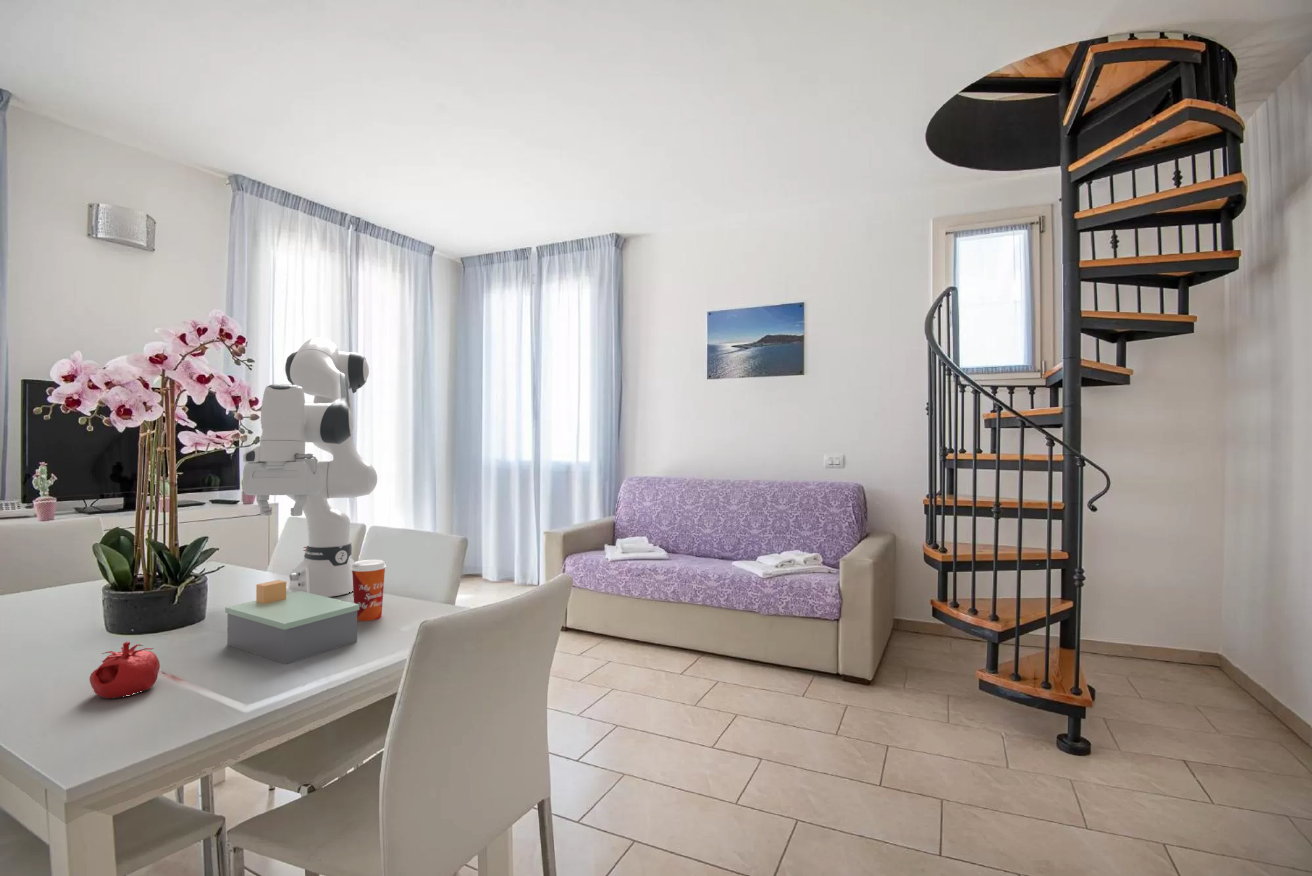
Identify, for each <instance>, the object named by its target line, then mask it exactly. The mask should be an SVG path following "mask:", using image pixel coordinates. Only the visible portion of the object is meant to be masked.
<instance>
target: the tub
mask: <svg viewBox="0 0 1312 876" xmlns="http://www.w3.org/2000/svg"><path fill="white" fill-rule="evenodd" d="M226 623H227V628H226V629H227V631H226V632H227V636H226V637H227V642H226V644H227V646H229V647H232V648H234V649H235V648H236V649H238V650H241V651H245V652H246V653H251V654H254V655H256V656H259V657H262V658H265V659H268V660H272V661H274V662H277V663H280V664H283V665H287V664H290V663H294V662H297V661H301V660H303V659H306V658H309V657H313V656H315V655H320V654H322V653H325V652H326V653H327V652H328V651H331V650H336V649H338V648H341V647H344V646H348V645H350V644H355V643H357V642H358V620H357V611H353V612H349V613H345V614H342V615H338V616H334V617H331V618H327V619H323V620H319V621H316V622H312V623H308V624H304V625H301V626H297V627H293V628H289V629H286V630H284V629H280V628H277V627H273V626H270V625H266V624H263V623H259V622H256V621H252V620H249V619H245V618H242V617H238V616H235V615H231V614H228V613H227V622H226Z"/></svg>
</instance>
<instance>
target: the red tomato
mask: <svg viewBox="0 0 1312 876" xmlns="http://www.w3.org/2000/svg"><path fill="white" fill-rule="evenodd" d="M130 645H131V642H130V641H125V642H124V643H123V644H122V647H120V649H121V651H118V652H116V651H113V650H110V651H106V652H102V653H101V654H102V655H103V654H109V655H108V656H106V657H105V658H104V659H103V660H101V662H102V664H101V665H99V666H98V667H97V668H96V669H95V670H93V671H92V672H91V674H90V676H89V683H90V685H91V688H92V690H93V693H94V694H96V695H97V696H99V697H101V698H103V697H105V698H104V699H110V698H112V699H114V698H113V697H122V698H124V697H123V696H126V695H132V694H133V693H137V692H140V691H144V690H146V691H147V689H148V690H150V689H152V687H153V686H154V685H155V683H156V681H157V680H158V675H159V672H160V668H161V664H160V661H159V658H158V656H157V655H156V653H154V652H153V651H151V650H153V649H155V647H152V648H149V647H145V648H141V649H138V650H137V649H136V648H137V647H142V646H144V644H139V643H137V644H135V645H134V646H131V647H130ZM144 692H145V691H144ZM137 694H138V693H137Z"/></svg>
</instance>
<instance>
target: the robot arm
mask: <svg viewBox="0 0 1312 876" xmlns="http://www.w3.org/2000/svg"><path fill="white" fill-rule="evenodd" d="M284 372H285V375H286V379H287V381H288V382H289V384H283V383H281V384H279V383H276V384H275V383H274V384H269V385H267V386H265V388H264V392H263V394H262V401H261V409H260V424H261V430H262V432H261V435H260V439H259V445H257V446H256V447H255V448H254V447H253V448H252V449H251V450H248V451H247V452H244V454H243V457H242V461H243V463H245V465H244V467H243V470H242V491H243V492H244V494H245V496H256V497H255V498H256V500H255V501H256V502H257V504H258V508H259V511H260V512H259V515H260V516H261V517H262V516H271V515H272V514H273V512H272V511H273V507H270V505H269V501H268V500H270V496H287V497H288V498H290V499H292V500H293V501H294V502H295V503H294V504H293V507H290V516H292V517H299V516H303V513H304V516H305V519H306V524H307V541H308V543H307V546H304V547H303V551H304V555H303V557H304V558H303V559H302V560H300V562H299V563H297V565H296V566H294V567H293V568H292V569H291V571H290V574H289V583H288V584H286V594H288V593H293V592H297V591H303V592H307V593H311V594H316V595H320V596H325V597H329V598H332V597H336V596H342V595H346V594H350V593H353V592H352V591H353V576H352V570H351V568H352V565H353V563H354V562H355V561H354V559H353V558H351V555H352V552H353V551H352V550H353V546H352V542H351V520H350V518H349V515H347V514H346V513H345V512H343V511H342V510H339V509H336V508H333V507H332V506H331V505H330V504H329V503H328V502H329V501H328V499H342V498H343V499H344V498H347V499H348V498H351V499H353V498H359V497H362V496H367V495H368V496H369V495H371V493H373V491H374V490H375V488H376V487H377V484H378V474H377V471H376V469H375V467H374V466H373V465H372V464H370V463H369V462H367V461H366V460H365V459H364V458H363V457H362V456H361V455H360V453H359V452H358V450H357V448H356V447H355V443H354V437H353V430H354V418H353V401H352V400H353V399H352V395H351V392H352V394H355V393H357V391H358V390H359V389H361V388H362V387H363V386H364V385H365V384H366V383H367V379H368V377H369V374H370V367H369V364H368V361H367V359H366V357H365V356H364V355H363V354H361V353H358V352H354V351H351V352H348V351H347V352H346V351H339V348H338V347H337V346H336V344H335V343H334V342H332V341H331V340H330V339H328V338H326V337H325V338H324V337H313V338H309V339H307V341H305V342H304V343H303V345H301V346H300V348H299V349H298V350H297V351H296V352H292V353H291V354H290V355H288V356H287V358H286V362H285V366H284ZM350 389H351V390H350ZM305 394H307V395H310V396H314V398H313V402H306V399H305V397H306V396H305ZM306 443H313V445H314V446H315V447H317V448H318V449H321V450H323V451H325V452H328V453H330V454H331V455H332V458H333V459H332V460H329V461H324V460H323V461H318V458H317V457H316V456H315V455H314V454H313V453H306ZM349 592H350V593H349Z"/></svg>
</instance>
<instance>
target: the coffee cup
mask: <svg viewBox="0 0 1312 876" xmlns="http://www.w3.org/2000/svg"><path fill="white" fill-rule="evenodd" d="M385 568H387V565H386V563H385V561H384V560H382V559H364V560H357V561H354V563H353V565H352V568H351V570H352V576H353V592H352V593H353V595H352V596H353V603H355V604H359V610H357V622H369V621H370V622H371V621H374V620H378V619H380V618H382V615H383V603H384V602H383V601H384V589H385V588H384V585H385V572H386V569H385Z"/></svg>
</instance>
